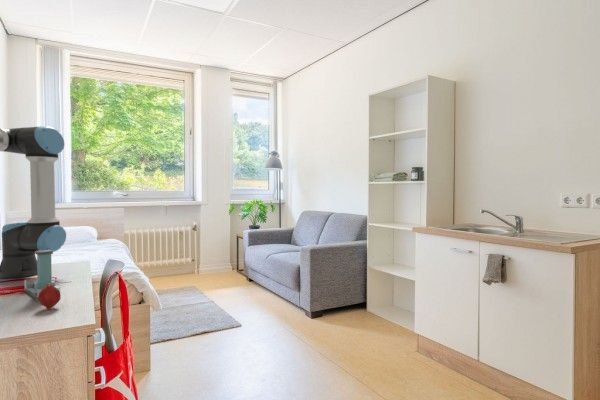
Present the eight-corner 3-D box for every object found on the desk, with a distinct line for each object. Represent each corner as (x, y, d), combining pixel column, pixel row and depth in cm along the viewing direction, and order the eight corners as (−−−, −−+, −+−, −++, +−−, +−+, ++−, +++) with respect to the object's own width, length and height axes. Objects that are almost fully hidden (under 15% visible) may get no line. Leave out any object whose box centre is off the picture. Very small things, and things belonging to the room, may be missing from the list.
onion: (41, 307, 117) (40, 282, 117) (62, 304, 120) (62, 280, 119) (36, 312, 112) (35, 286, 112) (58, 310, 114) (58, 284, 114)
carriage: (34, 289, 129) (33, 251, 128) (51, 286, 132) (51, 249, 132) (37, 291, 126) (36, 252, 125) (55, 288, 129) (54, 250, 129)
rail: (24, 290, 137) (24, 278, 137) (43, 287, 142) (43, 276, 141) (39, 302, 122) (39, 289, 122) (60, 298, 127) (60, 286, 126)
